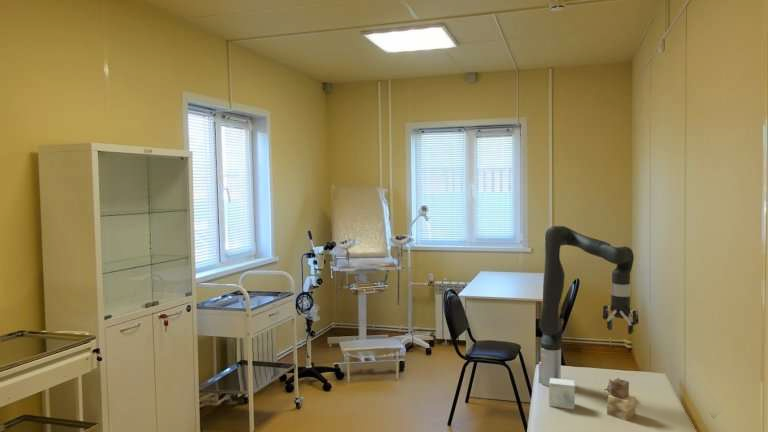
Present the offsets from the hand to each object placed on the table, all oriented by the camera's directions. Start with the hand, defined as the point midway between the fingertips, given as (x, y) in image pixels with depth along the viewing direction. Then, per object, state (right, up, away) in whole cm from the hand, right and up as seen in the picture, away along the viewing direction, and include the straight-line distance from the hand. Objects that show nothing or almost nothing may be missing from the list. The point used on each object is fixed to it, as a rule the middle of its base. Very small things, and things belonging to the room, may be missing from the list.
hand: (620, 331), depth 235 cm
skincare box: (-24, -33, +3) cm, 40 cm away
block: (-3, -25, -7) cm, 26 cm away
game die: (+3, -32, +11) cm, 34 cm away
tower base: (-3, -33, -7) cm, 34 cm away
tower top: (-2, -29, -7) cm, 30 cm away
